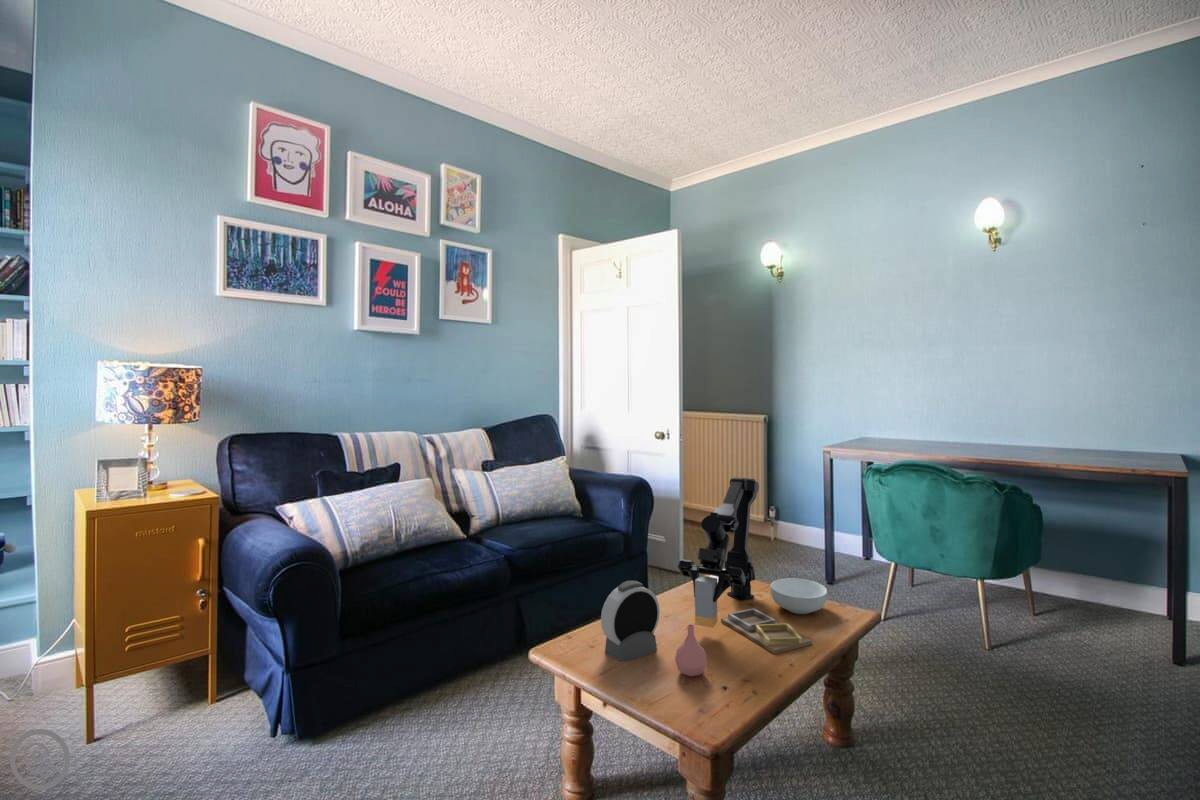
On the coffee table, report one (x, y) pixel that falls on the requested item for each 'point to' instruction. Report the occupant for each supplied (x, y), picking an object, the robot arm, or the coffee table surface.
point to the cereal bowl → (799, 595)
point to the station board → (765, 631)
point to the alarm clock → (630, 621)
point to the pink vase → (690, 655)
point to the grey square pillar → (705, 601)
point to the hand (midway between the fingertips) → (704, 599)
